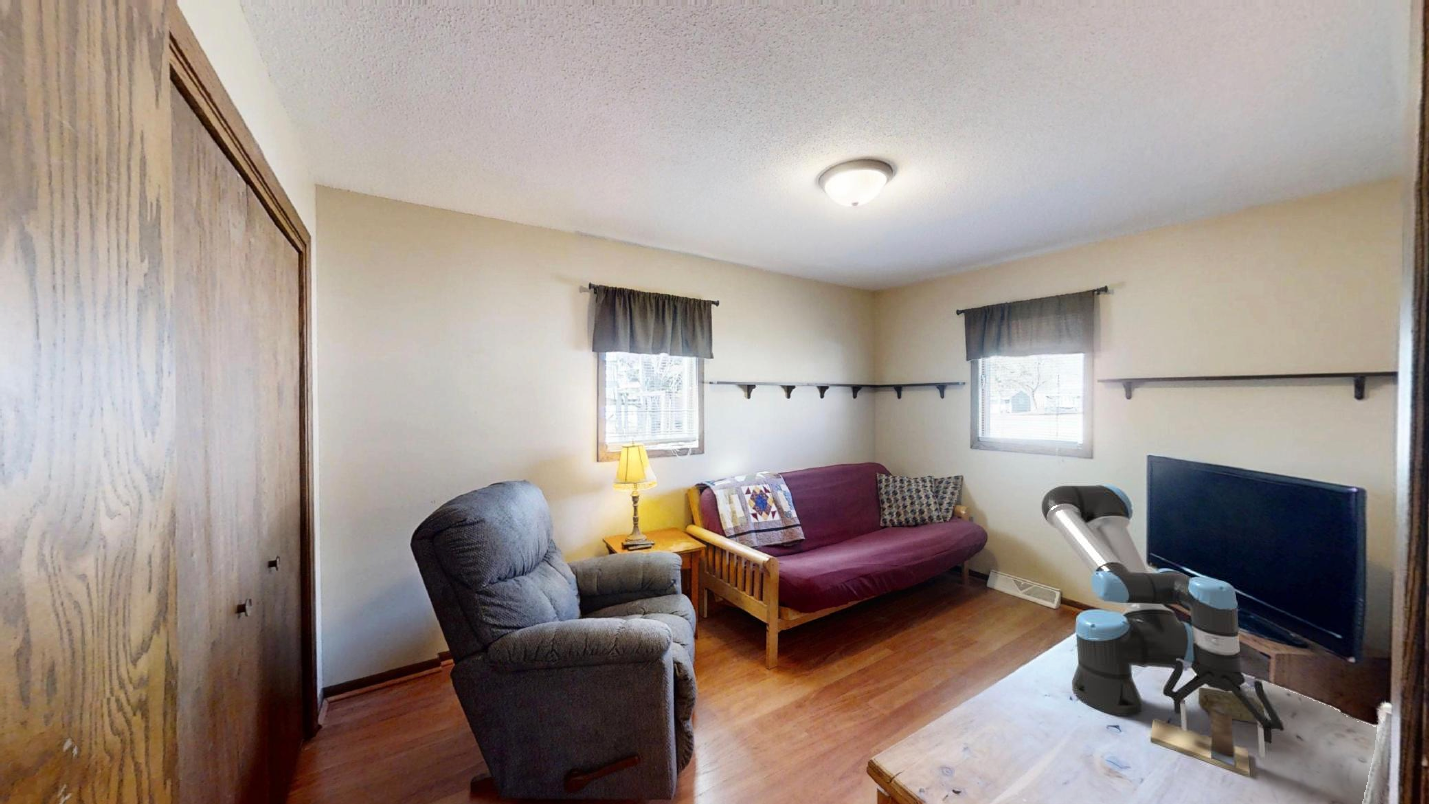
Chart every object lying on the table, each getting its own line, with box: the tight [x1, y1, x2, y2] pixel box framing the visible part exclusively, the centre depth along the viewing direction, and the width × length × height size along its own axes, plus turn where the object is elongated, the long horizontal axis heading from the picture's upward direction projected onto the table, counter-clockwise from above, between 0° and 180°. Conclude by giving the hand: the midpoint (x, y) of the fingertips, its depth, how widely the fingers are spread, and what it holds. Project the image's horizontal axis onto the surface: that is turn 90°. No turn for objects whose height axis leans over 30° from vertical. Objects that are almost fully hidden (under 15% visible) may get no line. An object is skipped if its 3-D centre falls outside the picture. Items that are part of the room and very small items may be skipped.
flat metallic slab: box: [1150, 718, 1251, 778], centre depth 119 cm, size 16×34×2 cm, turn 133°
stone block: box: [1197, 687, 1266, 724], centre depth 121 cm, size 6×12×5 cm, turn 62°
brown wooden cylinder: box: [1209, 707, 1234, 756], centre depth 108 cm, size 3×3×10 cm
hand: (1221, 740), depth 108 cm, fingers open, 11 cm apart
